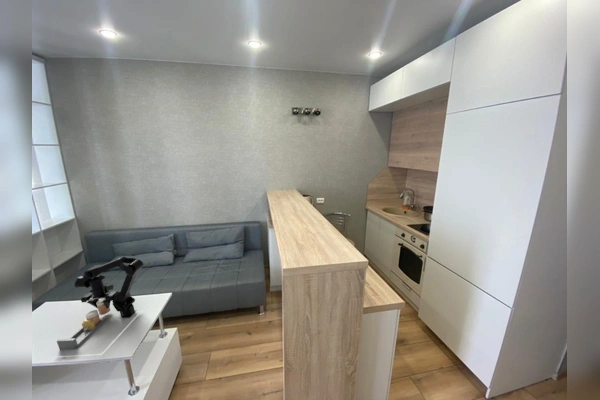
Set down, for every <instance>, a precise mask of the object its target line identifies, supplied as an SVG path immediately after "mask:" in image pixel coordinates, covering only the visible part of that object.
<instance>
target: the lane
mask: <svg viewBox="0 0 600 400" xmlns="http://www.w3.org/2000/svg"><path fill="white" fill-rule="evenodd" d="M100 321H101V322H100V323H99V324H98V325H97V326H96V327H95V328H94V329H92V330H86V331H83V330H84V329H83V326H81V328H79V329H78V331H76V332H75V333H74V334H72V335H71V336H70V337H69V338H59V339H57V340H56V343H57V346H58V349H59V351H62V350H63V351H67V350H77V349H78V348H79V347H80V346H81V345H82V344H83V343H84V342H85V341H87V340H88V339H89V337H91V336H92V335H94V334H95V332H96V331H97V330H99V328H100V327H102V325H103V324H105V323H106V321H108V317H104V318H100Z"/></svg>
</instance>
